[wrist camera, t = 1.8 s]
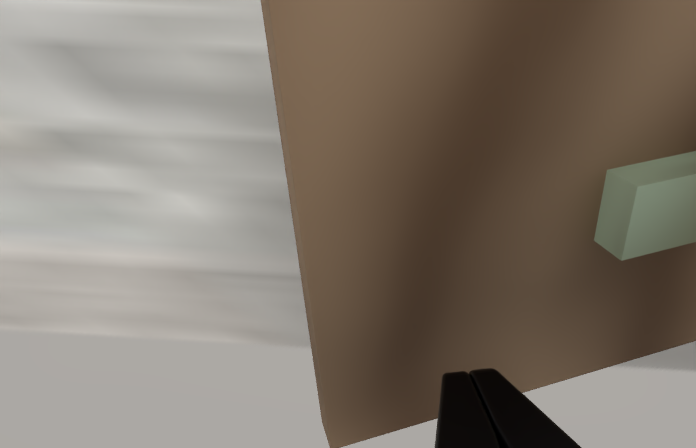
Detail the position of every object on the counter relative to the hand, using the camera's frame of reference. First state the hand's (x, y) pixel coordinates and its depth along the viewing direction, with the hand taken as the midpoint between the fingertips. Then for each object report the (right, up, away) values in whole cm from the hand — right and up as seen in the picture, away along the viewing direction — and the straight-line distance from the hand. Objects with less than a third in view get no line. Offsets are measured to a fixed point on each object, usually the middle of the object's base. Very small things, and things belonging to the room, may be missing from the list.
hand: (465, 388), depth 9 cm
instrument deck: (+7, +4, +6) cm, 11 cm away
